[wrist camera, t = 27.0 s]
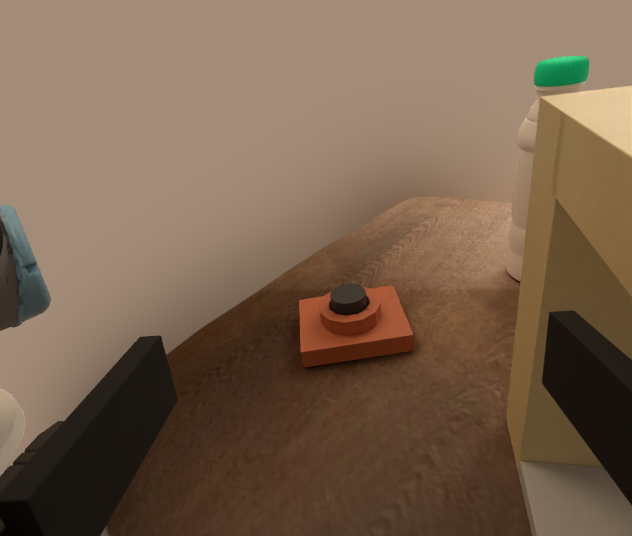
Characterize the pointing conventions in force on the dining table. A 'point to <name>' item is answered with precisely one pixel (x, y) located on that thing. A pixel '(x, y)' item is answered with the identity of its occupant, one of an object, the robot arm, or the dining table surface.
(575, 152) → the coffee maker
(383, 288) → the brew pad
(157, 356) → the robot arm
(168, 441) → the dining table surface
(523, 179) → the water bottle
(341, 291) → the button
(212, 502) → the dining table surface
